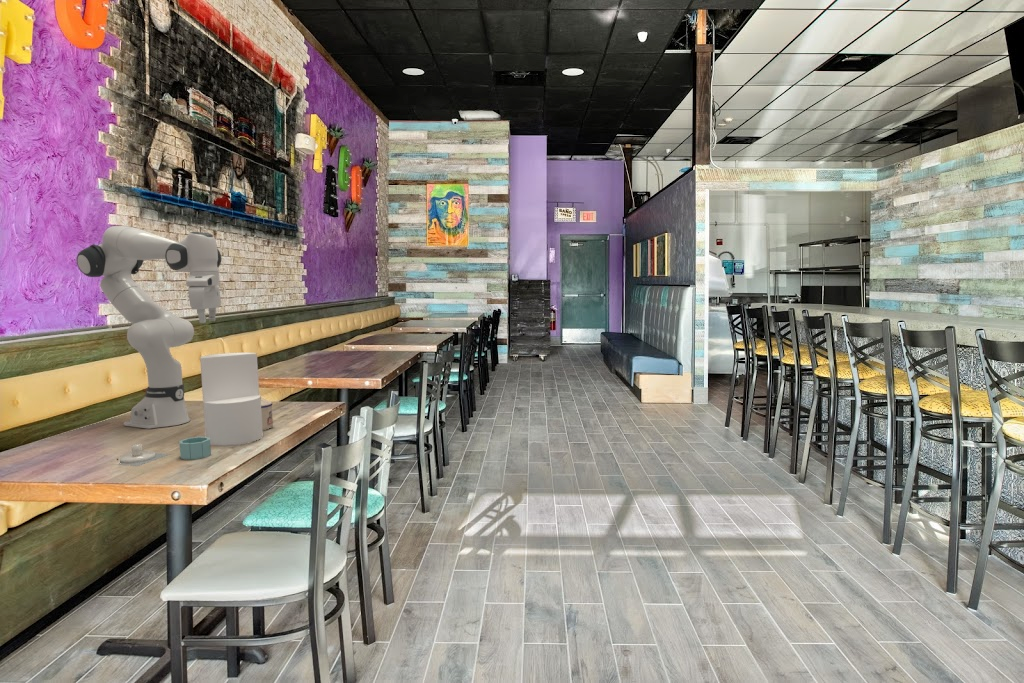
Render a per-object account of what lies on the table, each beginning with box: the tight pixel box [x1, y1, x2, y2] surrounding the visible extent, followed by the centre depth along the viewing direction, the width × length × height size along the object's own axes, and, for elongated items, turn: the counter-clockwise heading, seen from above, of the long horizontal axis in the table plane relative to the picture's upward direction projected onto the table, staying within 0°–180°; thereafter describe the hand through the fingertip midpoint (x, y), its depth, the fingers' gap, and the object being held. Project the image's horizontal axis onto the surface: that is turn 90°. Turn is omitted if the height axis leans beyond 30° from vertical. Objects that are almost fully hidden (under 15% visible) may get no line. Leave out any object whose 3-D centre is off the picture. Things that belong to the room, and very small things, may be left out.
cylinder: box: [199, 352, 264, 447], centre depth 202 cm, size 17×17×28 cm
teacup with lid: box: [261, 398, 274, 431], centre depth 219 cm, size 12×9×12 cm
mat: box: [118, 452, 171, 467], centre depth 181 cm, size 12×12×1 cm
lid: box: [119, 443, 156, 463], centre depth 181 cm, size 9×9×4 cm
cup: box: [179, 436, 212, 461], centre depth 183 cm, size 8×8×5 cm
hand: (207, 322), depth 206 cm, fingers open, 8 cm apart
